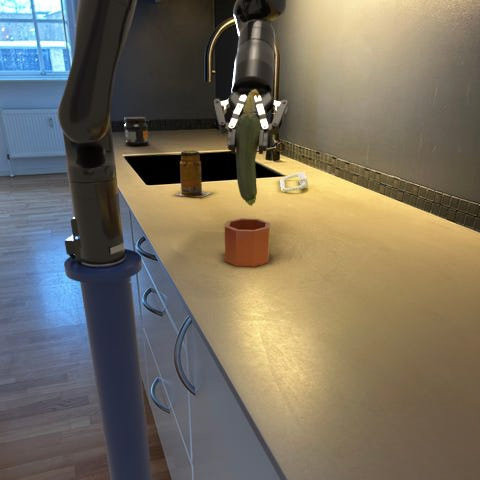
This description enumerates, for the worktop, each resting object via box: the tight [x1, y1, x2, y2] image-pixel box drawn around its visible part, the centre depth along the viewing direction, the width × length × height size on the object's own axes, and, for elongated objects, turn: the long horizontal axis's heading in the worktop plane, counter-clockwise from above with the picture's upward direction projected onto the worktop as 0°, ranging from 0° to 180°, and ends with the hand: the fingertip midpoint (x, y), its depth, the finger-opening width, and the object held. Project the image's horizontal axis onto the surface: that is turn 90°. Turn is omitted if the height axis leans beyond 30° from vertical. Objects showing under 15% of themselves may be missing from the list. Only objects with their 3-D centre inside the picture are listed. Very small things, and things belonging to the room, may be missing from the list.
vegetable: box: [235, 89, 260, 207], centre depth 92 cm, size 4×4×20 cm
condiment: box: [175, 150, 213, 198], centre depth 148 cm, size 7×8×12 cm
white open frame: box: [279, 171, 309, 193], centre depth 159 cm, size 20×8×4 cm, turn 177°
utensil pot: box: [224, 217, 271, 268], centre depth 100 cm, size 8×8×7 cm
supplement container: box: [123, 116, 150, 148], centre depth 235 cm, size 10×10×12 cm
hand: (246, 150), depth 90 cm, fingers closed on vegetable, 4 cm apart
